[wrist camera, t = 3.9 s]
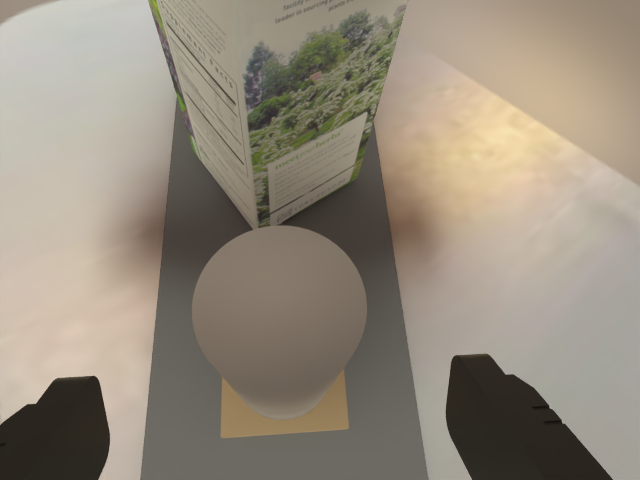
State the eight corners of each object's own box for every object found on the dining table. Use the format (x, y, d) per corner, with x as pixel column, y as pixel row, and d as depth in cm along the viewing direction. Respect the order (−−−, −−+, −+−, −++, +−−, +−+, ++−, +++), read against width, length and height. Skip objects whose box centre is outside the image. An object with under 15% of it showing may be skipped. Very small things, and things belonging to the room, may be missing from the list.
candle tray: (365, 78, 24) (404, -109, 16) (427, 494, 16) (578, 539, 8) (180, 78, 23) (123, -120, 15) (139, 519, 15) (-40, 601, 7)
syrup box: (290, 103, 23) (295, -366, 10) (362, 183, 21) (487, -263, 8) (192, 154, 21) (37, -336, 8) (261, 245, 19) (206, -195, 6)
